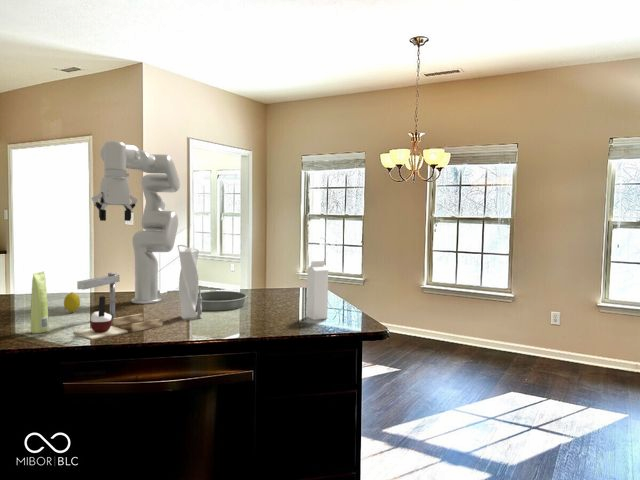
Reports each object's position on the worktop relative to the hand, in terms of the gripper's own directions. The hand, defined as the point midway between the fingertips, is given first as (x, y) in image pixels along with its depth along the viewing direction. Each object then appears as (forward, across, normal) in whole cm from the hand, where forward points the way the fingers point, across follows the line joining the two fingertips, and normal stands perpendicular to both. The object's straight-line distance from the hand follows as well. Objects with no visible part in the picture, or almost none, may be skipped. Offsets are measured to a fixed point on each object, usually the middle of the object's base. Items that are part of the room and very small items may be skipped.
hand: (115, 220), depth 172 cm
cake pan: (+37, -40, +12) cm, 56 cm away
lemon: (+36, +8, -18) cm, 41 cm away
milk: (+36, -49, +59) cm, 85 cm away
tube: (+36, +28, +4) cm, 46 cm away
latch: (+36, +9, +6) cm, 38 cm away
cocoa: (+36, +16, +20) cm, 44 cm away
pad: (+36, +16, +20) cm, 44 cm away
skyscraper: (+37, -17, +22) cm, 46 cm away
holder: (+36, +3, +20) cm, 42 cm away
